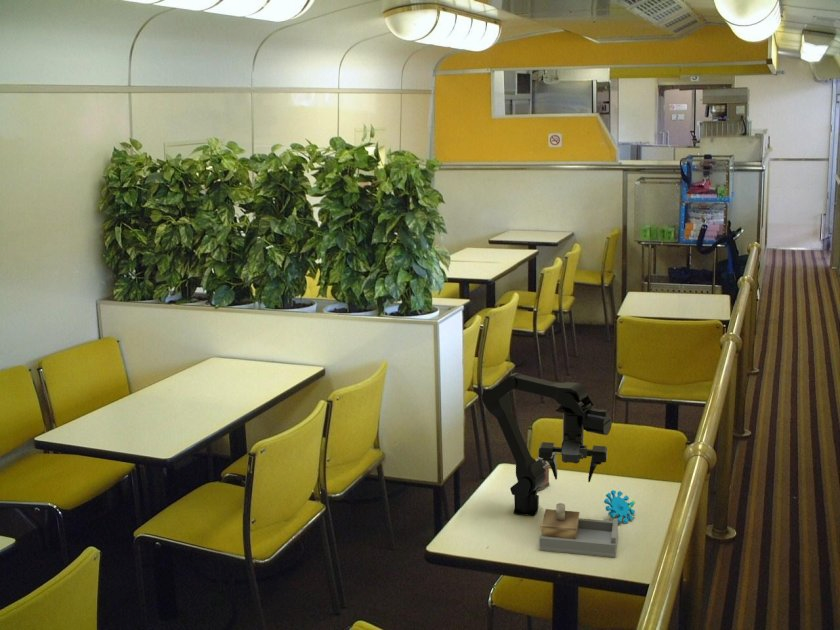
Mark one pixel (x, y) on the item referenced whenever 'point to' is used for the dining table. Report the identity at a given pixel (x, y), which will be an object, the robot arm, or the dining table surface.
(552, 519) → the crate
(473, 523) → the dining table surface
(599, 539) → the bay
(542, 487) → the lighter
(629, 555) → the dining table surface
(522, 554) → the dining table surface
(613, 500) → the gear
